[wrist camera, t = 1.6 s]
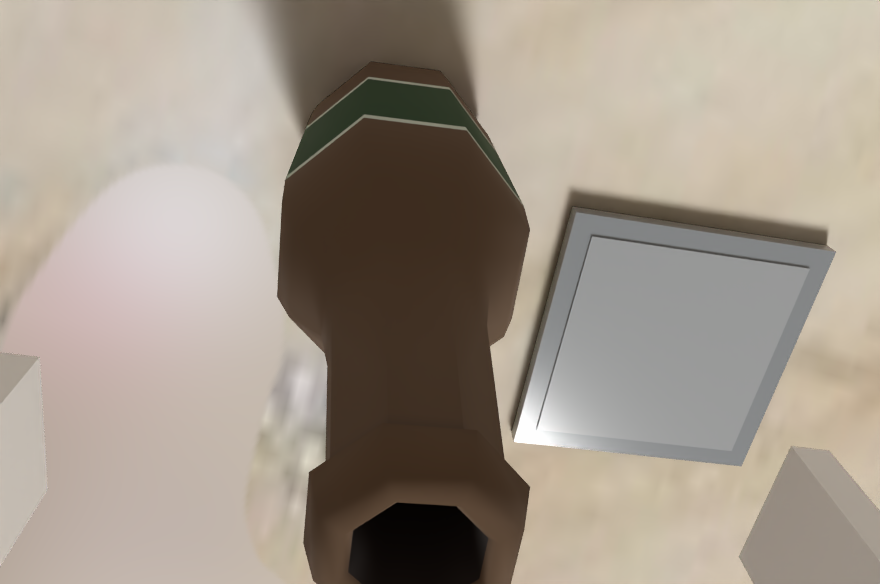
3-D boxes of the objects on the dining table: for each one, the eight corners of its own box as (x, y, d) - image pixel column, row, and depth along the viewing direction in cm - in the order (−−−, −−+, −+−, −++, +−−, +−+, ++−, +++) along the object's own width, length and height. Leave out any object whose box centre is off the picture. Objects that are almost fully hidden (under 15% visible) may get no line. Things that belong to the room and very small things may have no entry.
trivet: (511, 432, 40) (514, 443, 39) (572, 206, 34) (576, 212, 34) (735, 456, 42) (742, 467, 41) (827, 245, 36) (837, 252, 35)
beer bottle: (359, 18, 30) (295, 236, 9) (517, 112, 32) (780, 476, 11) (277, 178, 33) (73, 647, 11) (428, 256, 35) (497, 774, 14)
